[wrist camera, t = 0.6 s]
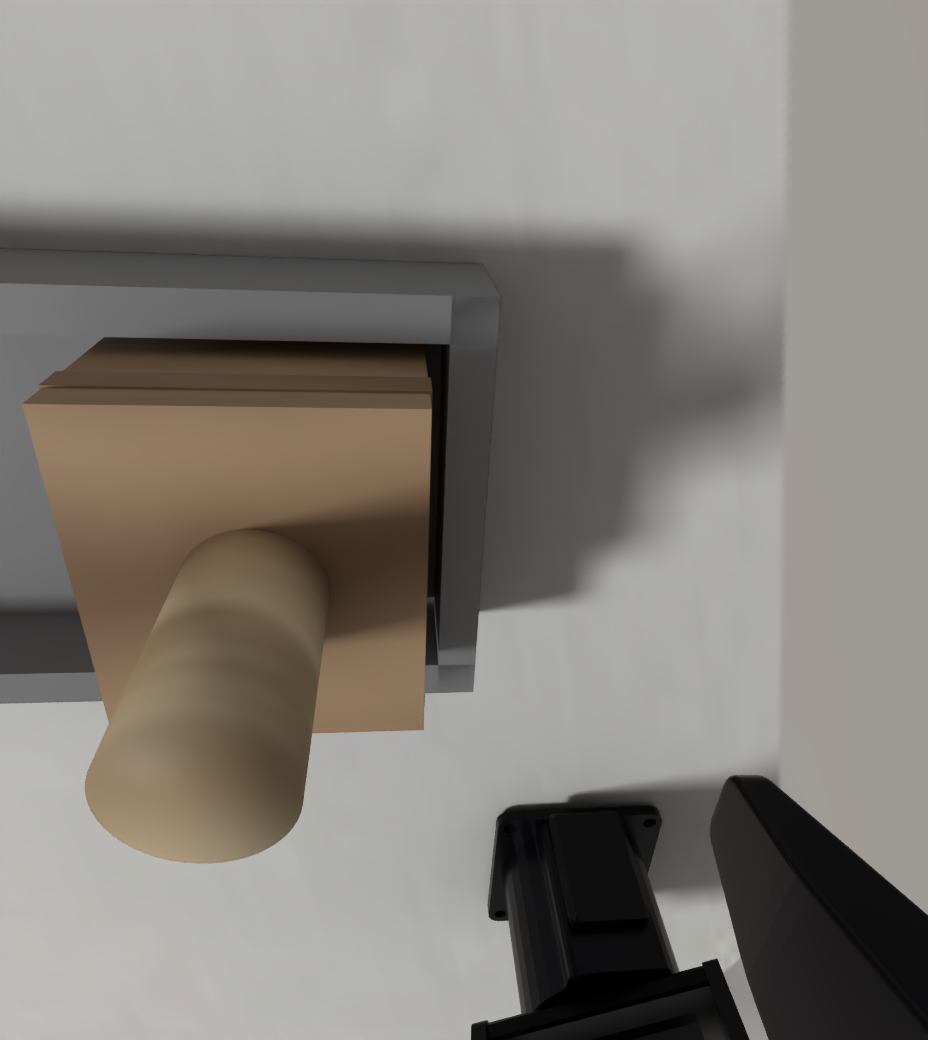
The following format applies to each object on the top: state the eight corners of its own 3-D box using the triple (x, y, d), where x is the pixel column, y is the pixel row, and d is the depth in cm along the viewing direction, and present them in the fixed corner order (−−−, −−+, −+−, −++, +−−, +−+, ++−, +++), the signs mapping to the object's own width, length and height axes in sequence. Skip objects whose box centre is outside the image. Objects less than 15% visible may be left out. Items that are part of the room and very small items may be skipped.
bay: (462, 615, 23) (472, 692, 20) (-214, 624, 21) (-315, 711, 18) (482, 264, 18) (500, 297, 15) (-421, 234, 16) (-612, 266, 13)
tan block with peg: (419, 604, 21) (436, 945, 13) (170, 607, 21) (10, 970, 12) (424, 330, 17) (454, 558, 9) (115, 323, 17) (-185, 563, 8)
